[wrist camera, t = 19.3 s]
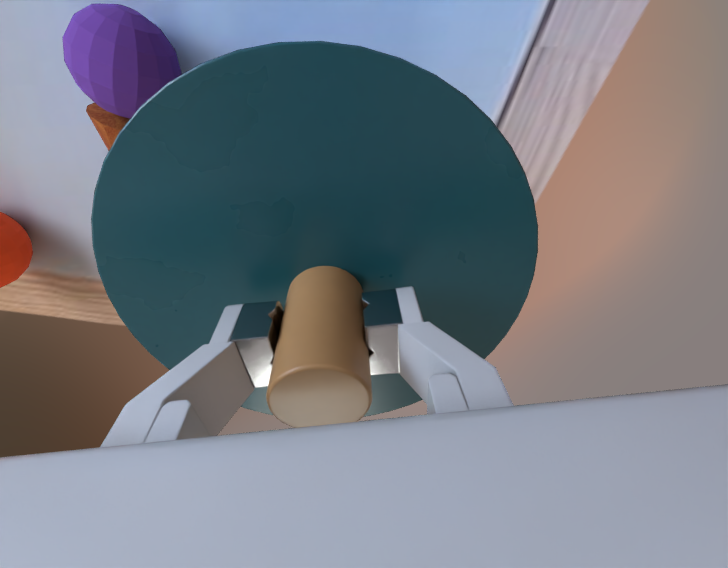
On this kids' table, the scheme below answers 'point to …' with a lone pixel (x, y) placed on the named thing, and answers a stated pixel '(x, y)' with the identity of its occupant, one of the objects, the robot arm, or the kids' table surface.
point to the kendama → (117, 63)
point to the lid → (313, 216)
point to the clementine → (13, 250)
